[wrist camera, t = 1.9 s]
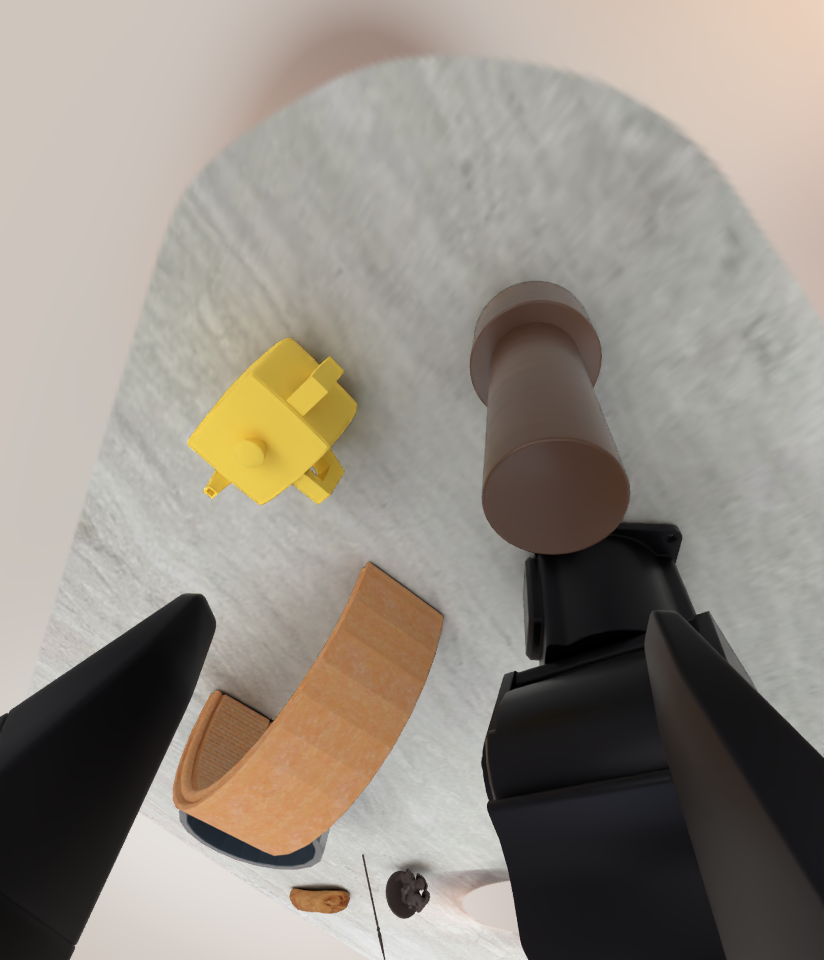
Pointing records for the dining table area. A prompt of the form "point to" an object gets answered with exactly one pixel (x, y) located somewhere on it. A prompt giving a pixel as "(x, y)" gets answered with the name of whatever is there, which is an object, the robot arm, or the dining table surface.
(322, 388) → the teapot
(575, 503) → the muddler
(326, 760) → the arch
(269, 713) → the dining table surface
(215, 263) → the dining table surface
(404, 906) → the dark disc and stick
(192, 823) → the bowl
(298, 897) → the brown rounded lump
